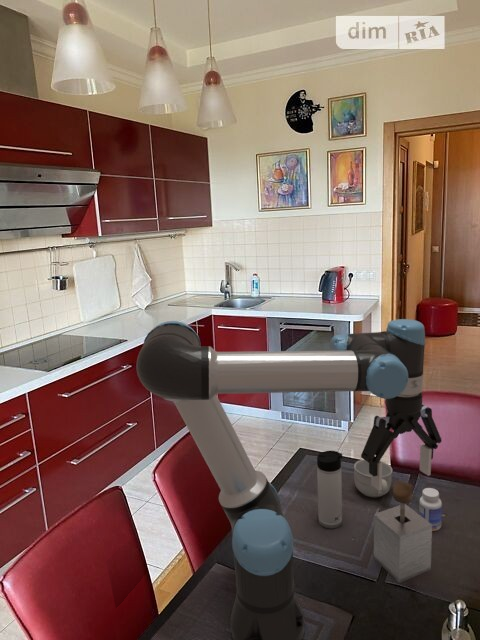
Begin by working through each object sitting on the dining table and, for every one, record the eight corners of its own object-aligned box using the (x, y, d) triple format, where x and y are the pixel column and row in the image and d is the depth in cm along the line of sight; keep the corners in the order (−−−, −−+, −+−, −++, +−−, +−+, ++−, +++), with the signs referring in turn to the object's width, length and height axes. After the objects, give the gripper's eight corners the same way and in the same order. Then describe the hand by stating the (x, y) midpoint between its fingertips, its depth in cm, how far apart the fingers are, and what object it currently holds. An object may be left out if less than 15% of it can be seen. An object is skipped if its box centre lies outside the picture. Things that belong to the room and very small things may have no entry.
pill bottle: (443, 522, 129) (445, 489, 127) (437, 534, 125) (439, 500, 123) (422, 516, 133) (423, 483, 130) (416, 527, 128) (417, 494, 126)
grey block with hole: (399, 583, 110) (399, 536, 107) (367, 551, 120) (367, 508, 118) (430, 570, 113) (432, 524, 111) (397, 540, 124) (398, 498, 121)
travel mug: (343, 529, 129) (342, 460, 125) (318, 528, 130) (316, 459, 126) (343, 515, 135) (342, 448, 130) (319, 513, 136) (317, 447, 132)
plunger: (400, 568, 111) (401, 497, 107) (381, 550, 117) (381, 482, 113) (423, 559, 114) (424, 489, 109) (403, 542, 119) (404, 475, 115)
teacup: (351, 481, 151) (350, 458, 149) (387, 480, 150) (387, 456, 148) (360, 509, 137) (360, 483, 135) (399, 508, 137) (400, 482, 135)
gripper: (366, 408, 98) (365, 503, 103) (461, 386, 107) (456, 474, 112) (345, 396, 105) (344, 485, 110) (436, 376, 114) (432, 459, 119)
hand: (401, 479), depth 111 cm, fingers open, 13 cm apart
